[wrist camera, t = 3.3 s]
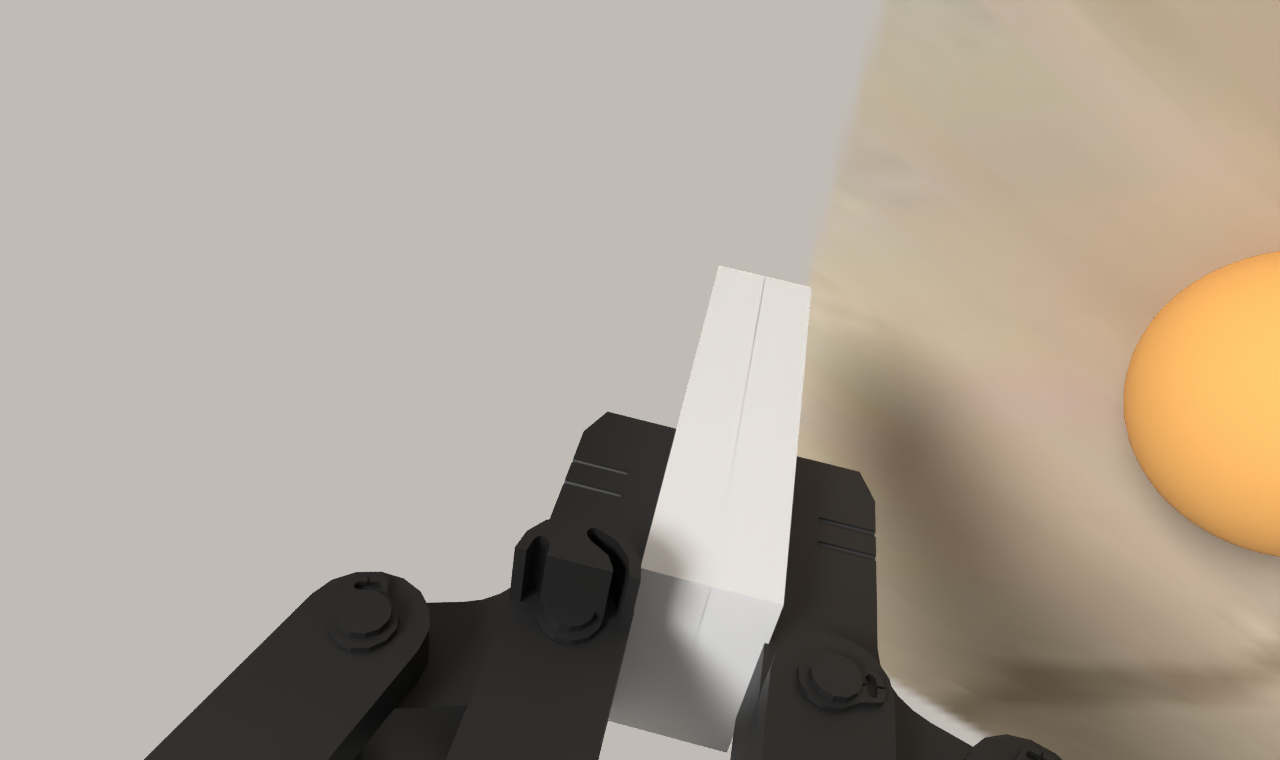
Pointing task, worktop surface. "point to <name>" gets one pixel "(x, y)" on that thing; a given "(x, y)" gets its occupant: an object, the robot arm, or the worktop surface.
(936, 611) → the worktop surface
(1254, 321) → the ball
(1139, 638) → the worktop surface
